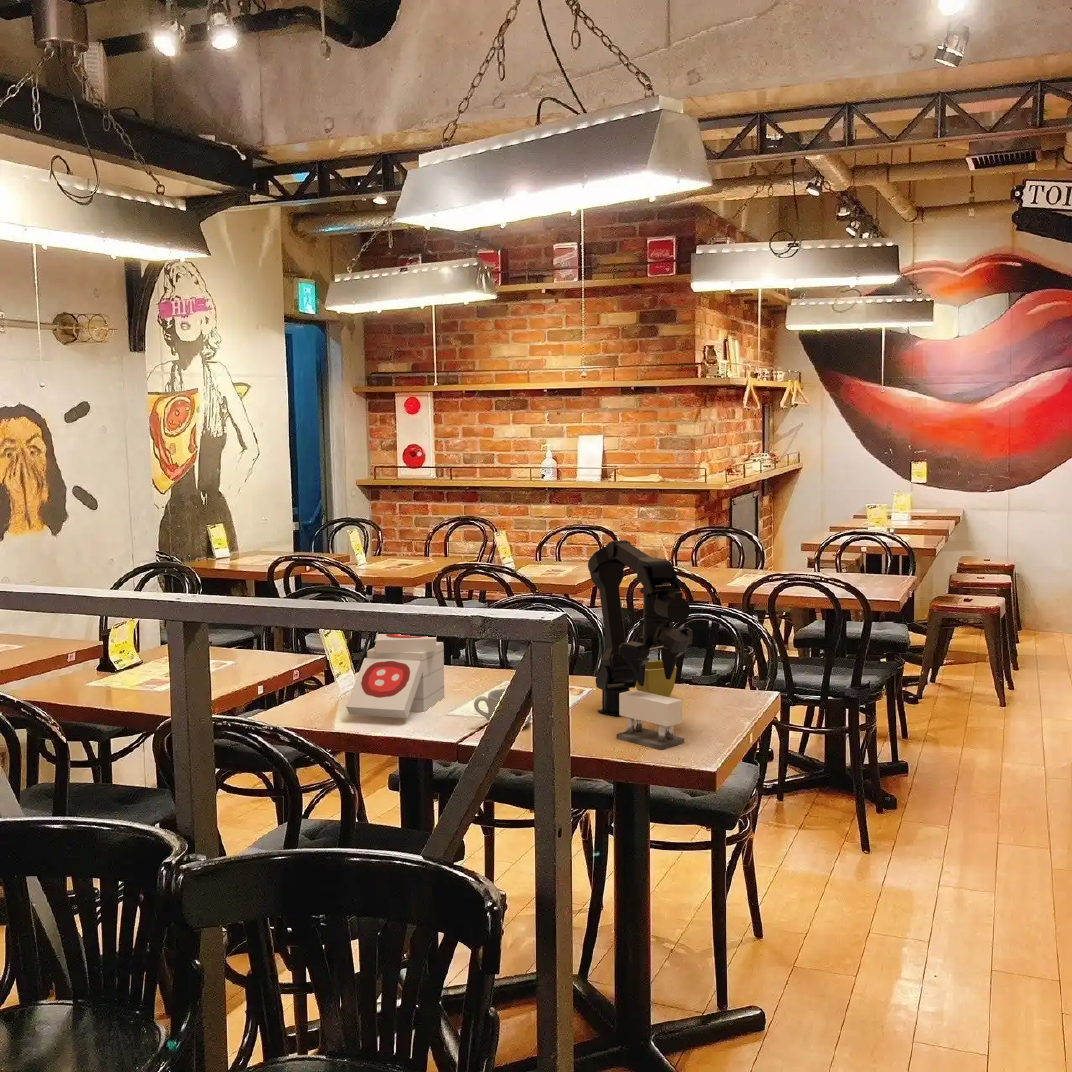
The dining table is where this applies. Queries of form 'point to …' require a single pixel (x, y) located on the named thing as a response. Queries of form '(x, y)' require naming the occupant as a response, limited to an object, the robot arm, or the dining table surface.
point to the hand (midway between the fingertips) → (654, 682)
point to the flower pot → (657, 679)
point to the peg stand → (649, 735)
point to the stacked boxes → (399, 677)
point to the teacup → (491, 703)
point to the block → (650, 707)
